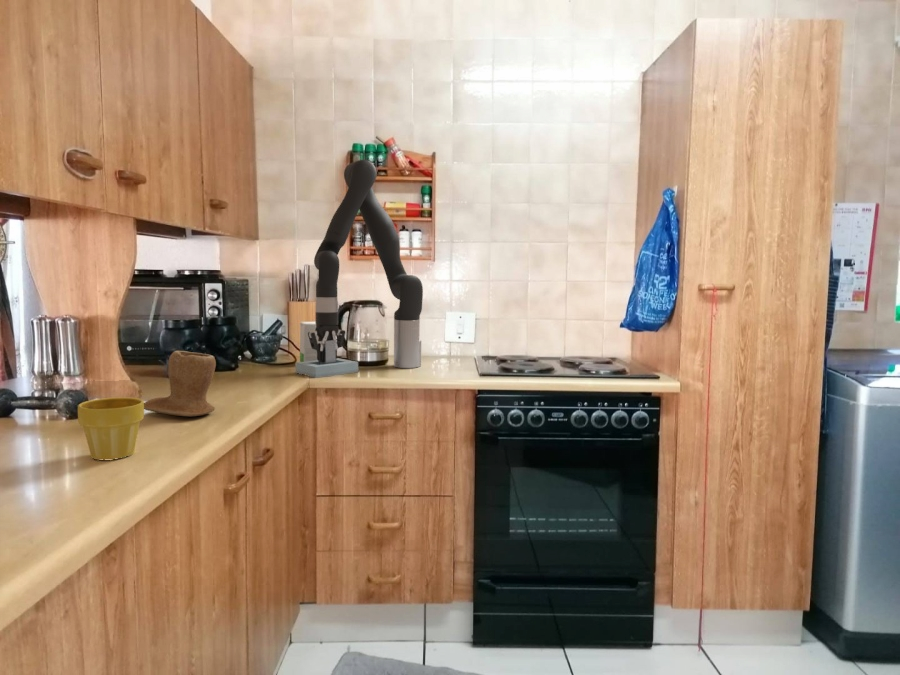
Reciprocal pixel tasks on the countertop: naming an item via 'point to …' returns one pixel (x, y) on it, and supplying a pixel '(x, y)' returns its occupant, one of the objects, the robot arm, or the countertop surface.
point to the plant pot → (111, 425)
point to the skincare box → (307, 342)
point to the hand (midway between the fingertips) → (327, 360)
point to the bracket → (329, 352)
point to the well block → (326, 368)
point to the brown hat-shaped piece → (186, 385)
